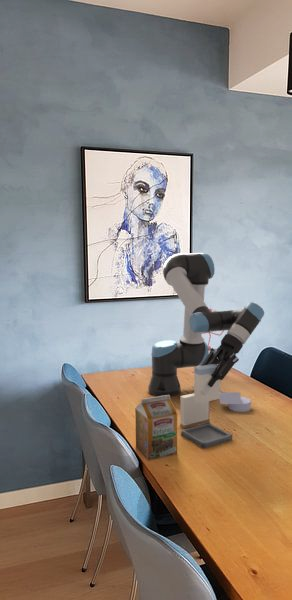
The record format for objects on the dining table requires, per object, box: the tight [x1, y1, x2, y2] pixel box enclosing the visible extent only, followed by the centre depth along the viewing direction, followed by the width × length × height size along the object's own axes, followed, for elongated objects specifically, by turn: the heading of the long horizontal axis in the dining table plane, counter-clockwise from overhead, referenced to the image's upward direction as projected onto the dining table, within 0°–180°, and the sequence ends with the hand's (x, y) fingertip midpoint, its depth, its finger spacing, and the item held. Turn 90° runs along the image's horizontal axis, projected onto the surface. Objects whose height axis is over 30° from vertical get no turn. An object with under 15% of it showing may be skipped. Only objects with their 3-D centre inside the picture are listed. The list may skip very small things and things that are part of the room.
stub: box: [193, 364, 221, 403], centre depth 167 cm, size 4×9×12 cm, turn 122°
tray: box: [180, 422, 233, 450], centre depth 170 cm, size 13×13×2 cm
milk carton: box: [134, 395, 178, 461], centre depth 159 cm, size 11×10×19 cm
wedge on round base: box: [218, 391, 252, 413], centre depth 199 cm, size 9×7×13 cm
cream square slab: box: [179, 392, 210, 430], centre depth 182 cm, size 3×12×12 cm, turn 122°
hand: (198, 391), depth 166 cm, fingers closed on stub, 3 cm apart
